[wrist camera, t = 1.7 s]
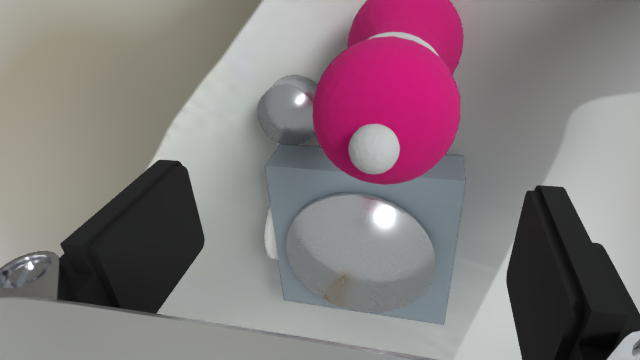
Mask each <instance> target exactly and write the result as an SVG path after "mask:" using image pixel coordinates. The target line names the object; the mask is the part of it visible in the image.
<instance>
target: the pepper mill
mask: <svg viewBox="0 0 640 360" xmlns="http://www.w3.org/2000/svg"><path fill="white" fill-rule="evenodd" d="M462 47H463V28H462V24H461V20H460V17H459V15H458V13H457V11H456V9H455V8H454V6H453V4H452V3H451V2H450V1H449V0H367V1H366V2H365V3H364V5H363V6H362V7H361V9H360V10H359V11H358V13H357V15H356V17H355V19H354V21H353V24H352V27H351V30H350V33H349V39H348V49H346V50H345V51H343V52H342V53H341V54H340V55H338V56H337V57H336V58H335V59H334V60H333V61H332V62H331V63H330V64H329V66H328V67H327V69H326V70H325V72H324V73H323V75H322V76H321V78H320V81H319V83H318V85H317V88H316V91H315V96H314V100H313V115H312V117H313V126H314V131H315V134H316V137H317V140H318V142H319V144H320V146H321V148H322V150H323V152H324V153H325V155H326V156H327V157H328V158H329V160H330V161H331V162H332V163H333V164H334V165H335V166H336V167H337V168H339V169H340V170H341V171H343V172H345V173H346V174H348V175H350V176H352V177H354V178H356V179H359V180H361V181H365V182H369V183H374V184H382V185H388V184H399V183H403V182H407V181H411V180H413V179H415V178H417V177H419V176H421V175H423V174H424V173H426V172H427V171H429V170H430V169H431V168H433V167H434V166H435V165H436V164H437V163H438V162H439V161H440V160H441V159H442V158H443V157H444V156H445V154H446V152H447V151H448V149H449V148H450V146H451V145H452V143H453V141H454V138H455V135H456V133H457V130H458V126H459V121H460V95H459V91H458V88H457V84H456V82H455V80H454V78H453V76H452V75H453V73H454V71H455V69H456V67H457V65H458V63H459V60H460V56H461V53H462Z"/></svg>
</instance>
